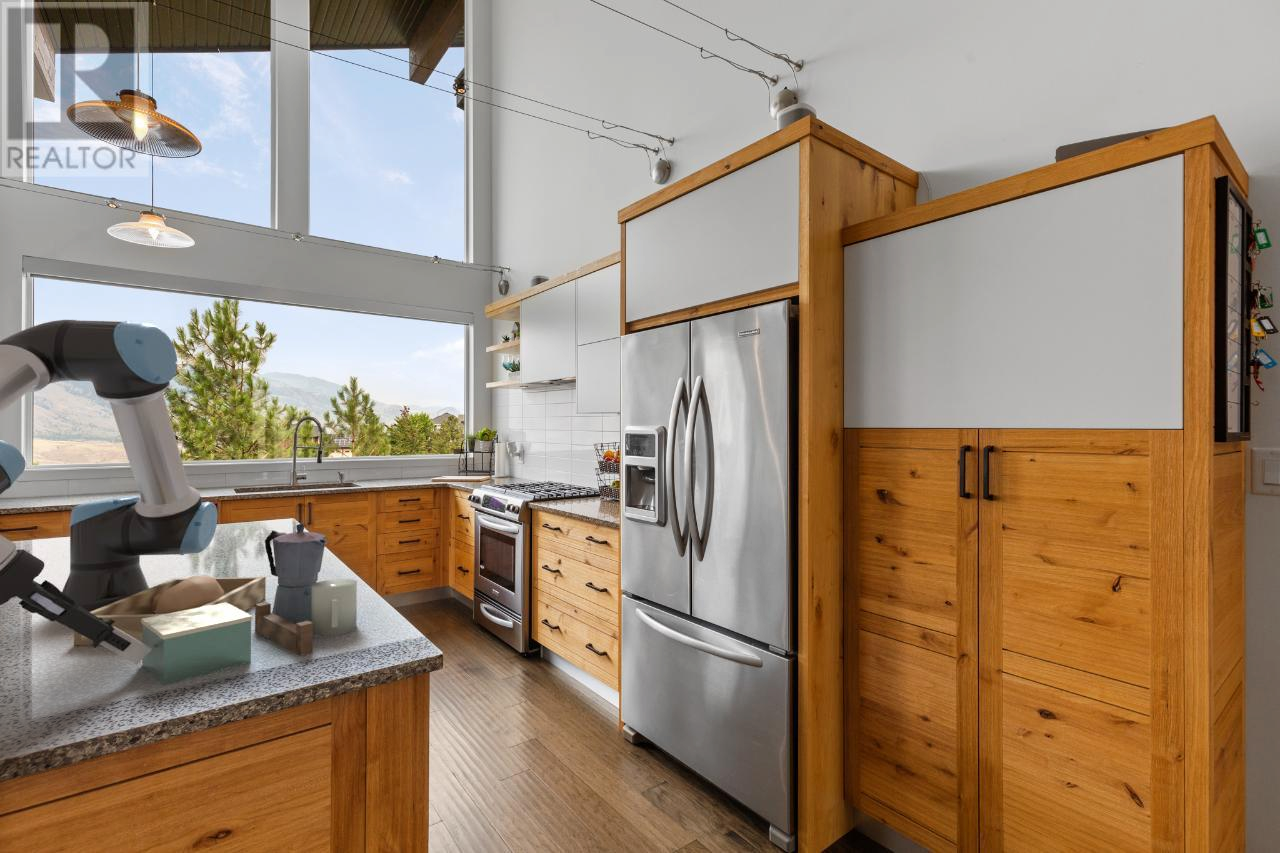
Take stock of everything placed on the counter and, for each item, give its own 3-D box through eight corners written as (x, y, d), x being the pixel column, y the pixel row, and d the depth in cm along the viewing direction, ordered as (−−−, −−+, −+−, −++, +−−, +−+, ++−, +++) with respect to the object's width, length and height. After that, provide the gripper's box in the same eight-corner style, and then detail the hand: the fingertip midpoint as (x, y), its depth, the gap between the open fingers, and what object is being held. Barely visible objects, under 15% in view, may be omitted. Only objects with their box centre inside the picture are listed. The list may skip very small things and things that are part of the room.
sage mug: (311, 626, 122) (312, 581, 122) (355, 620, 126) (356, 577, 126) (310, 642, 113) (310, 594, 113) (357, 636, 117) (358, 589, 117)
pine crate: (174, 600, 138) (174, 578, 138) (265, 598, 140) (265, 576, 140) (73, 645, 110) (74, 618, 110) (190, 642, 112) (190, 615, 112)
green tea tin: (140, 666, 102) (141, 618, 101) (225, 646, 111) (226, 602, 111) (162, 687, 94) (163, 635, 94) (252, 663, 104) (252, 616, 103)
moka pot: (309, 631, 119) (310, 529, 119) (242, 625, 122) (243, 525, 122) (342, 616, 128) (343, 521, 128) (279, 611, 131) (280, 518, 131)
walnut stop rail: (255, 630, 119) (255, 604, 119) (266, 628, 120) (266, 601, 120) (300, 655, 107) (301, 625, 107) (312, 652, 108) (312, 623, 108)
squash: (179, 635, 116) (164, 590, 115) (137, 631, 126) (123, 590, 125) (239, 609, 125) (226, 567, 124) (195, 607, 135) (183, 569, 135)
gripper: (-42, 584, 86) (111, 667, 99) (-33, 601, 78) (132, 689, 91) (12, 541, 90) (152, 626, 103) (27, 553, 82) (176, 644, 95)
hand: (143, 655), depth 97 cm, fingers closed
